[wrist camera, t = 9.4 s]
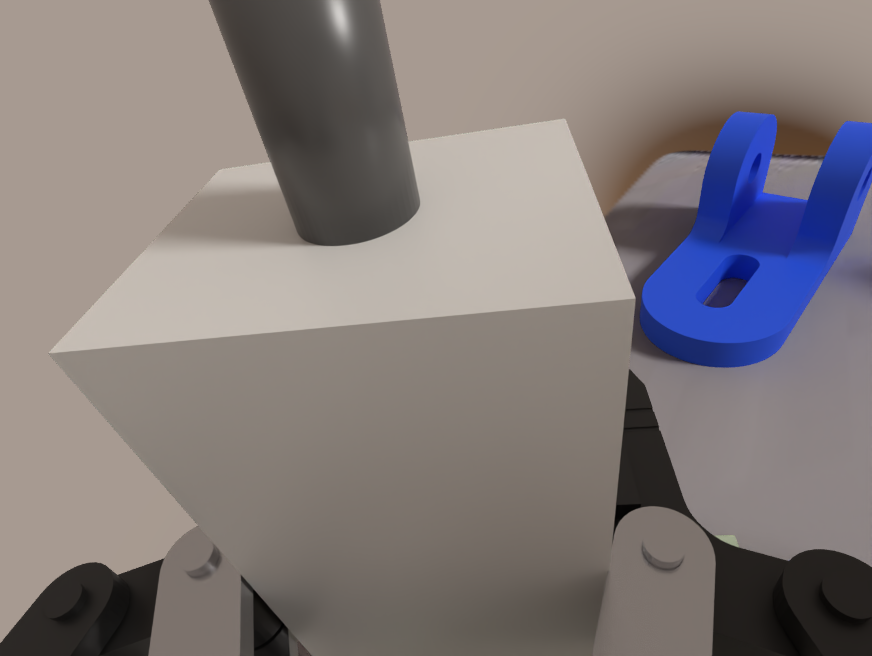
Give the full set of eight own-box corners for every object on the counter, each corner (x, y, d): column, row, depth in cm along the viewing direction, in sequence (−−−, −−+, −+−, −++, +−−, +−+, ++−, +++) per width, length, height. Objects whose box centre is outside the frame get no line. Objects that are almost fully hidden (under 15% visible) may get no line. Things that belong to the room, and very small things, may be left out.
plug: (565, 545, 16) (551, -241, 5) (592, 745, 12) (715, -533, 2) (404, 549, 16) (123, -132, 6) (383, 738, 13) (-407, -170, 2)
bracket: (728, 211, 42) (752, 96, 36) (851, 235, 37) (900, 107, 31) (615, 336, 34) (623, 212, 28) (755, 390, 29) (799, 252, 23)
